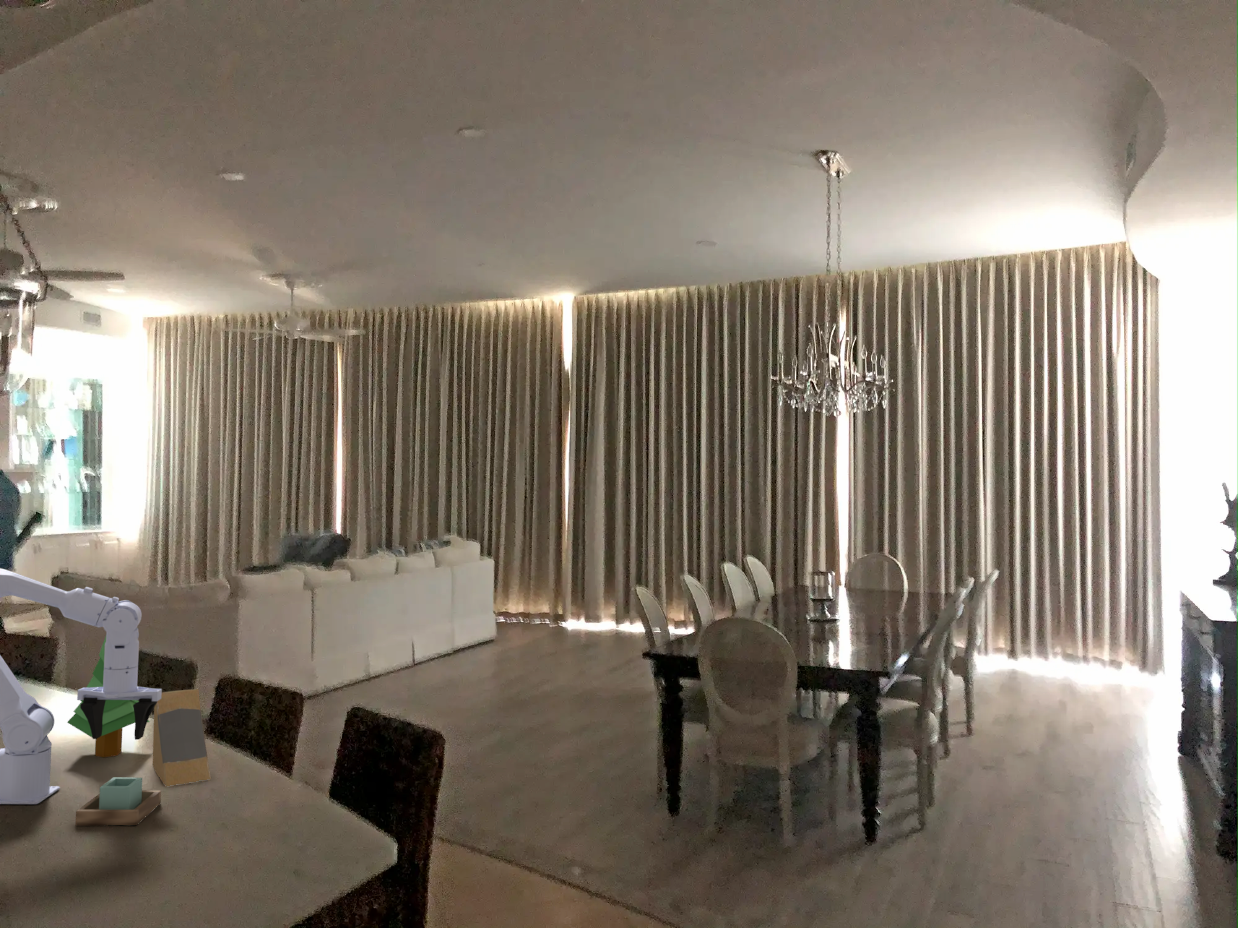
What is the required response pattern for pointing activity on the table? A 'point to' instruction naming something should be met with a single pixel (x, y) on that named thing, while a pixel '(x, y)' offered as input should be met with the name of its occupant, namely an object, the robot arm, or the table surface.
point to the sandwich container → (179, 738)
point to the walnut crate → (117, 811)
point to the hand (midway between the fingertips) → (118, 737)
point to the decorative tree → (106, 716)
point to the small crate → (121, 794)
